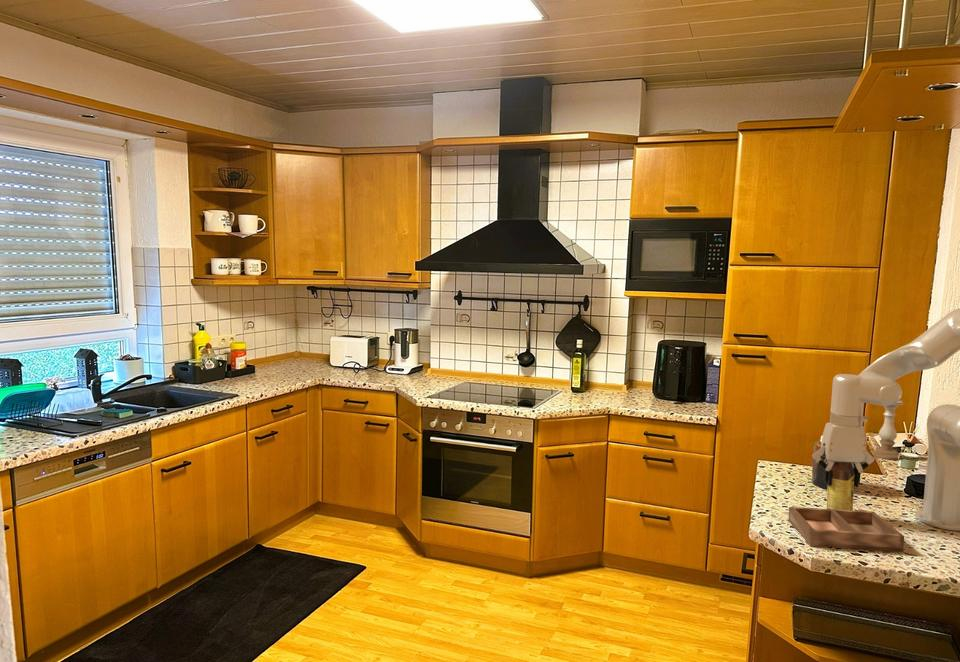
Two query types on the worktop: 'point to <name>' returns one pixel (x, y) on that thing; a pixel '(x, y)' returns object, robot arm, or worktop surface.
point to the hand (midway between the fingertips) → (840, 484)
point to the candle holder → (888, 434)
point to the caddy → (845, 529)
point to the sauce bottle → (841, 487)
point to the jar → (819, 469)
